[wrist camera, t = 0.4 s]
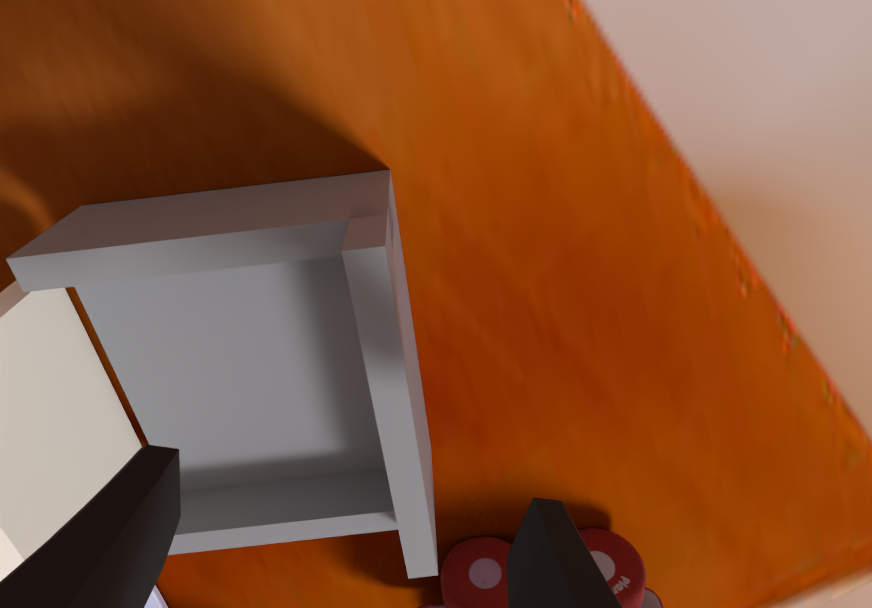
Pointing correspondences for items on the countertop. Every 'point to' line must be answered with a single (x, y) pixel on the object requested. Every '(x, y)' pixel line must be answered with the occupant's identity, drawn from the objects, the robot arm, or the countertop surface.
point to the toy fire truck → (487, 572)
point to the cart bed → (262, 354)
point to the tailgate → (51, 421)
